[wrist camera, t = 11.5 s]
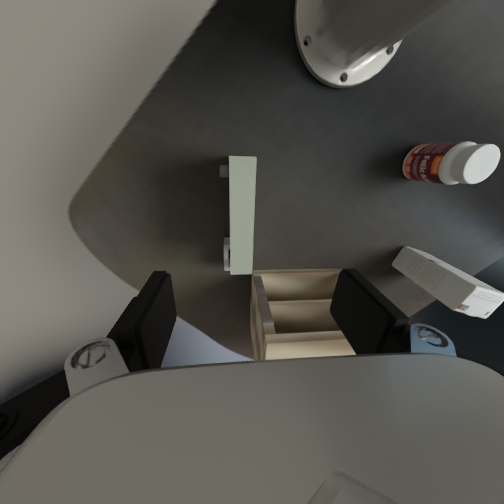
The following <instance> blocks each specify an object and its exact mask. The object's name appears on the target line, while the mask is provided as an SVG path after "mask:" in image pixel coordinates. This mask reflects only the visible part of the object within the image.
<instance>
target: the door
mask: <svg viewBox="0 0 504 504" xmlns="http://www.w3.org/2000/svg"><path fill="white" fill-rule="evenodd" d="M256 158H257V157H246V156H229V165H220V177H229V190H230V237H224V271H230V275H234V274H252V263H253V232H254V208H255V183H256ZM228 249H230V258H228Z"/></svg>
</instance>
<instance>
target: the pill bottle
mask: <svg viewBox="0 0 504 504" xmlns="http://www.w3.org/2000/svg"><path fill="white" fill-rule="evenodd" d="M499 159H500V151H499V148H498V147H497V146H496V145H493V144H476V143H474V142H466V141H464V142H452V143H434V144H422V145H419V146H416V147H415V148H413V149H412V150H411V151H410V152H409V153H408V154H407V156H406V157H405V159H404V162H403V174H404V176H405V177H407V178H408V179H411V180H418V181H425V182H433V183H440V184H446V185H452V184H457V183H466V184H476V183H479V182H481V181H483V180H485V179H486V178H487V177H488V176H489V175H490V174H491V173H492V172H493V171H494V170H495V168H496V167H497V164H498V162H499Z"/></svg>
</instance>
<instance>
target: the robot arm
mask: <svg viewBox="0 0 504 504" xmlns="http://www.w3.org/2000/svg"><path fill="white" fill-rule="evenodd" d="M458 1H459V0H295V9H294V31H295V37H296V42H297V47H298V50H299V53H300V55H301V58H302V60H303V62H304V64H305V66H306V67H307V69H308V70H309V71H310V73H311V74H312V75H313V76H314V77H315V78H316V79H317V80H319V81H320V82H321V83H323V84H325V85H327V86H330V87H333V88H340V89H342V88H351V87H354V86H357V85H360V84H362V83H363V82H365V81H367V80H369V79H370V78H372V77H373V76H375V75H376V74H377V73H379V72H380V71H381V70H382V69H383V68H384V67H385V66H386V65H387V64H388V62H389V61H390V60H391V58H392V57H393V56H394V54H395V53H396V51H397V49H398V47H399V45H400V44H401V42H402V40H403V38H405V37H406V36H408V35H409V34H411V33H412V32H414V31H415V30H417V29H418V28H419V27H421V26H422V25H424V24H425V23H427V22H428V21H430V20H431V19H433V18H434V17H436V16H437V15H439V14H440V13H442V12H443V11H445V10H446V9H447V8H449V7H450V6H452V5H453V4H455V3H456V2H458ZM304 42H305V43H306V44H307V46H305V45H304ZM340 78H341V79H342V81H341V80H340ZM330 314H331V315H332V317H333V319H334V320H335V322H336V323H337V325H338V327H339V328H340V330H341V331H342V333H343V334H344V336H345V338H346V339H347V341H348V342H349V344H350V346H351V347H352V349H353V350H354V352H355V353H356V355H341V356H323V357H306V358H289V359H273V360H257V361H242V362H229V363H228V362H227V363H213V364H198V365H187V366H174V367H164V368H160V367H161V364H162V360H163V358H164V355H165V352H166V349H167V346H168V343H169V340H170V337H171V333H172V330H173V327H174V324H175V321H176V315H177V314H176V307H175V300H174V294H173V287H172V280H171V275H170V274H167V272H166V271H154V272H153V273H152V274H151V276H150V277H149V279H148V281H147V282H146V284H145V285H144V287H143V288H142V290H141V291H140V293H139V294H138V296H137V297H134V298H133V299H132V300H131V302H130V303H129V304H128V306H127V307H126V309H125V310H124V312H123V313H122V315H121V316H120V318H119V319H118V321H117V322H116V324H115V325H114V327H113V328H112V329H111V331H110V332H109V334H108V335H107V337H106V338H97V339H93V340H90V341H88V342H86V343H84V344H82V345H80V346H79V347H78V348H76V349H75V350H74V351H73V352H72V353H71V354H70V355H69V356H68V357H67V359H66V361H65V366H64V367H65V369H64V370H63V371H60V372H59V373H57V374H55V375H53V376H52V377H50V378H48V379H46V380H44V381H43V382H41V383H39V384H37V385H35V386H33V387H32V388H30V389H28V390H26V391H24V392H23V393H21V394H19V395H17V396H16V397H14V398H12V399H10V400H8V401H6V402H5V403H3V404H1V405H0V504H504V371H502V370H500V369H498V368H496V367H493V366H491V365H489V364H486V363H484V362H482V361H479V360H477V359H475V358H472V357H470V356H468V355H465V354H463V353H461V352H458V351H456V350H455V349H454V345H453V343H452V341H451V340H450V339H449V338H448V337H447V336H446V335H445V334H444V333H442V332H441V331H439V330H437V329H436V328H433V327H431V326H428V325H424V324H413V325H411V326H410V325H409V324H408V321H409V318H408V317H407V316H406V315H405V314H404V313H403V312H402V311H401V310H400V309H398V308H397V307H396V306H395V305H394V304H393V303H392V302H391V301H390V300H389V299H387V298H386V297H385V296H384V295H383V294H382V293H381V292H380V291H379V290H378V289H376V288H375V287H374V286H373V285H372V284H371V283H370V282H369V281H368V280H367V279H365V278H364V277H363V276H362V275H361V274H360V273H359V272H358V271H357V270H356V269H343V270H342V271H340V272H339V275H338V279H337V283H336V286H335V290H334V294H333V298H332V301H331V305H330Z"/></svg>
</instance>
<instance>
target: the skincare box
mask: <svg viewBox="0 0 504 504" xmlns="http://www.w3.org/2000/svg"><path fill="white" fill-rule="evenodd" d="M392 266H393V267H394V268H396V269H397V270H398V271H400V272H401V273H402V274H404V275H405V276H407V277H408V278H409V279H411V280H412V281H413V282H415V283H416V284H418V285H419V286H420V287H422V288H423V289H424V290H426V291H427V292H428V293H430V294H431V295H433V296H434V297H435V298H437V299H438V300H440V301H441V302H443V303H444V304H445V305H446V306H448V307H449V308H451V309H452V310H454V311H458V312H462V313H465V314H467V315H470V316H476V317H480V318H484V319H486V318H487V317H488V316H489V315H490V314H491V313H492V312H493V311H494V310H495V309H496V308H497V307H498V306H499V305H500V304H501V303H502V302H503V301H504V293H502V292H500V291H498V290H496V289H494V288H493V287H491V286H489V285H487V284H485V283H483V282H482V281H480V280H477V279H476V278H474V277H472V276H470V275H468V274H466V273H464V272H462V271H460V270H458V269H457V268H455V267H453V266H451V265H449V264H447V263H445V262H443V261H441V260H439V259H437V258H436V257H434V256H432V255H430V254H427V253H425V252H423V251H420V250H417V249H414V248H411V247H408V246H404V247H403V248H402V250H401V251H400V252H399V254H398V255H397V257H396V258H395V260H394V261H393V263H392Z"/></svg>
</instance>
